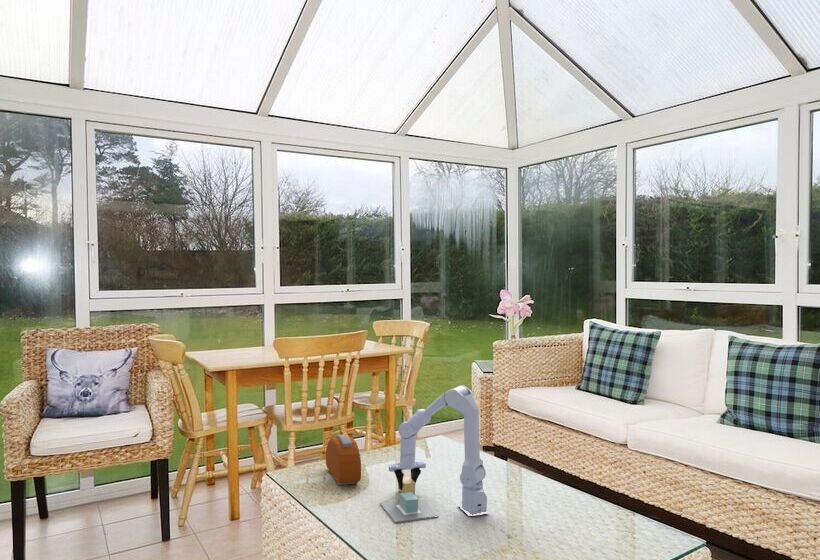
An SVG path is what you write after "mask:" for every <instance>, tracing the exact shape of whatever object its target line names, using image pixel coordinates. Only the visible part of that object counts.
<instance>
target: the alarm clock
mask: <svg viewBox="0 0 820 560" xmlns="http://www.w3.org/2000/svg"><path fill="white" fill-rule="evenodd" d="M325 466H326V467H327V469H328V470H329V471H328V472H330V474H331V475H332V476H333V478H334V479H335V481H336V482H337V485H338V486H342V484H343V485H352V484H358V482H360V481H361V479H362V459H361V454H360V450H359V446H358V443H357V442H356V440H355V438H353V437H352V436H348V434H336V435H335V437H332V438H330V439H329V440H328V442H327V445H326V450H325Z"/></svg>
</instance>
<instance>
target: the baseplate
mask: <svg viewBox="0 0 820 560" xmlns="http://www.w3.org/2000/svg"><path fill="white" fill-rule="evenodd" d="M417 498H418V512H412V513H405V511H404V510H403V509H402V508H401V507H400V499H399V500H391V501H390V500H389V501H383V502H379V505H380V506H381V508H382V509H383V510H384V512H385V513H386V515H388V517H389V518H390V519H391V520H392V522H393V523H394V524H401V523H408V522H414V521H415V522H416V521H421V519H423V520H426V519H425V518H430V517H435V516H438V517H439V515H438V514H437V513H436V511H435V510H434V509H432V507H431V506H430V505H429V504H428V503H427V502H426V501H425V500H424V499H423V498H422V497H417Z"/></svg>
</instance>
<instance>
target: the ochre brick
mask: <svg viewBox="0 0 820 560" xmlns="http://www.w3.org/2000/svg"><path fill="white" fill-rule="evenodd" d="M397 488H398V489H397V490H398V491H399V492H400V493H407V492H412V493H413V494H414V495H415V494H416V484H415V482H414V481H413V480H412V479H411V476H403V487H402V490H400V489H399V486H398V487H397Z"/></svg>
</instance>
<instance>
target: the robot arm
mask: <svg viewBox="0 0 820 560" xmlns="http://www.w3.org/2000/svg"><path fill="white" fill-rule="evenodd" d="M447 406H449V407H450V408H452V409H455V410H456V411H459V413H461V414H462V415H463V432H464V434H463V435H464V436H463V437H464V439H463V440H464V441H463V442H464V460H463V464H462V466H461V473H460V475H459V480H460V483H461V485H462V490H461V492H462V494H461V505H462V508H463V509H464V510H466V511H468V512H469V513H470V514H472V515H473V514H477V513H481V512H486V511H487V510H488V508H487V507H488V496H487V494H486V493H485V490H484V482H483V480H484V479H485V478H486V474H487V472H486V469H485V466H484V461H483V459H482V458H481V456H480V455H481V454H480V451H481V450H480V416H479V415H480V414H479V413H480V412H479V411H480V410H479V407H478V405H477V402H476V400H475V398H474V397H473V392H472V390H470V388H468V387H467V386H466V385H464V384H463V385H462V384H461V385H458V386H455V387H454V388H450V389H448V390H447V391H446V392H444V393H442V394H440V395H439V396H438V397H437V398H436V399H435V400H434V401H433V402H431V404H429V405H428V406H427V407H425V408H420V409H416V410H415V411H414V414H413V415H412V416H409V417H407V418H406V420H407V421H405V422H401V423H400V425H399V426H398V427H397V428H398V431H397V432H398V435H399V436H400V451H399V452H400V453H399V454H400V455H399V458H400V459H399V462H397V463H394V464H393V463H392V464H388V471H389V472H390V473H392V472H394V475H395V477H396V481H397V485H398V486H399V489H400V490H402V487H403V477H405V476H404V475H405V474H404V473H403V471H404V470H407V471H408V470H410V478H411V479H412V480H413V481H414V482H415V485H416V483H417V481H418V478H419V477H420V474H422V473H421V472H422V470H421V469H426V467H427V466H426V465H427V464H426V462H425V461H416V443H417V442H416V441H417V434H419V431H420V430H422V429H423V428H424V427H425V426H426V425H427V424H428V423H430V422H431V418H432V416H433V415H435V413H437V412H439V410H441V409H442V408H444V407H447ZM487 512H488V511H487Z"/></svg>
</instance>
